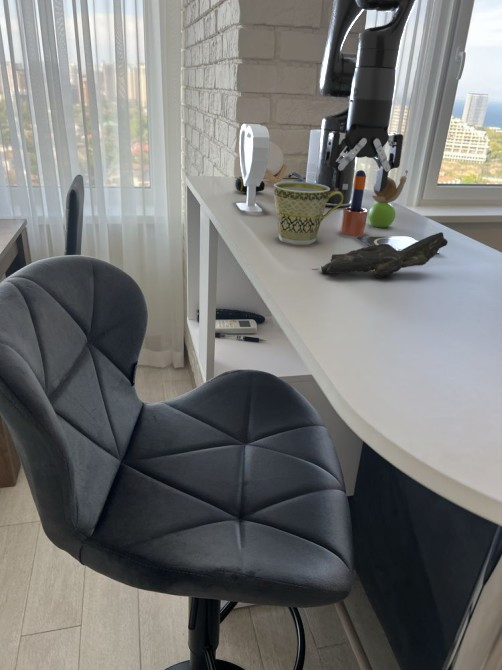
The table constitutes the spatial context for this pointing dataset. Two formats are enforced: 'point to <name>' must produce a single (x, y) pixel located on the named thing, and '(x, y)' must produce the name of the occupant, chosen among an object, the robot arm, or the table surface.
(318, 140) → the cosmetic box
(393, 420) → the table surface
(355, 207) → the marker
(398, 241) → the shiny silver plate
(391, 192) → the snail figurine
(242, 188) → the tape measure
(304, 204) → the ceramic cup
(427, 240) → the dark brown elongated chunk
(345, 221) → the pen pot
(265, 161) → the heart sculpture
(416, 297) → the table surface
